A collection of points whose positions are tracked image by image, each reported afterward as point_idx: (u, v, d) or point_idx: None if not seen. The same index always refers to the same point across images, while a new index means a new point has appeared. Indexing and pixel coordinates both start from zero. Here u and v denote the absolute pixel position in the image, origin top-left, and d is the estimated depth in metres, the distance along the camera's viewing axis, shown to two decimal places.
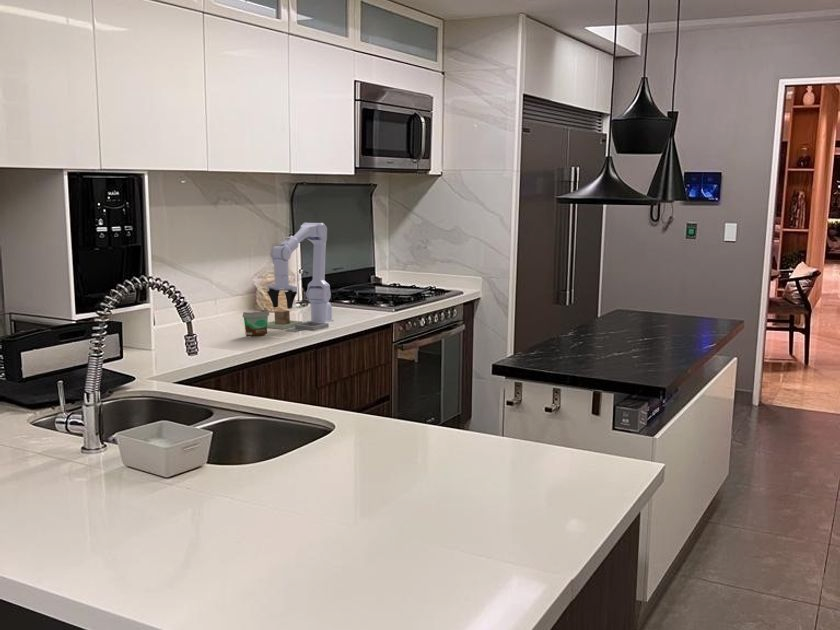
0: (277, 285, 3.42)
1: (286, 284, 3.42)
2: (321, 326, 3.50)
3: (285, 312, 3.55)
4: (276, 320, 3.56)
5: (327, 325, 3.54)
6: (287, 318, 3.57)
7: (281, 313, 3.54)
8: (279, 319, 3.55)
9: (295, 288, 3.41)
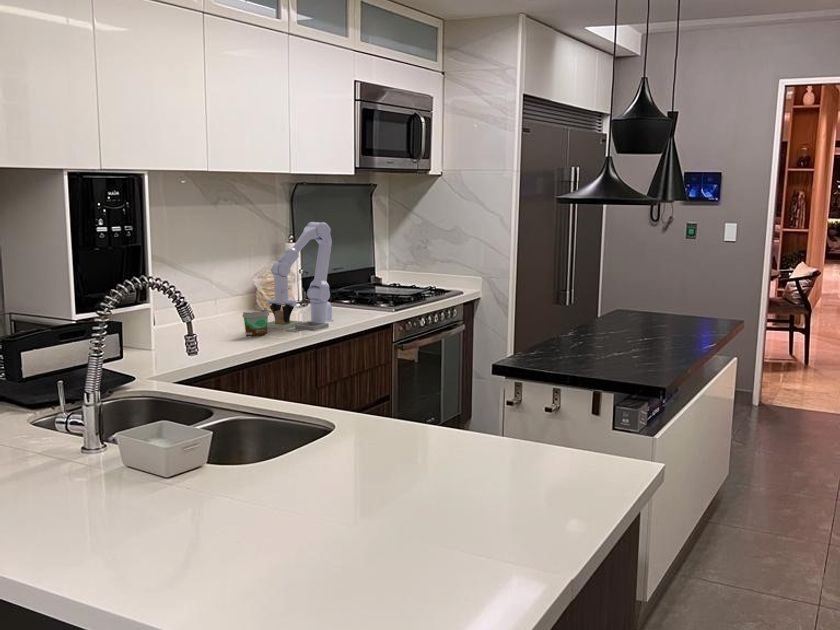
0: (277, 300, 3.53)
1: (286, 299, 3.54)
2: (321, 326, 3.50)
3: None
4: (276, 320, 3.56)
5: (327, 325, 3.54)
6: None
7: (281, 313, 3.54)
8: (279, 319, 3.55)
9: (294, 303, 3.52)
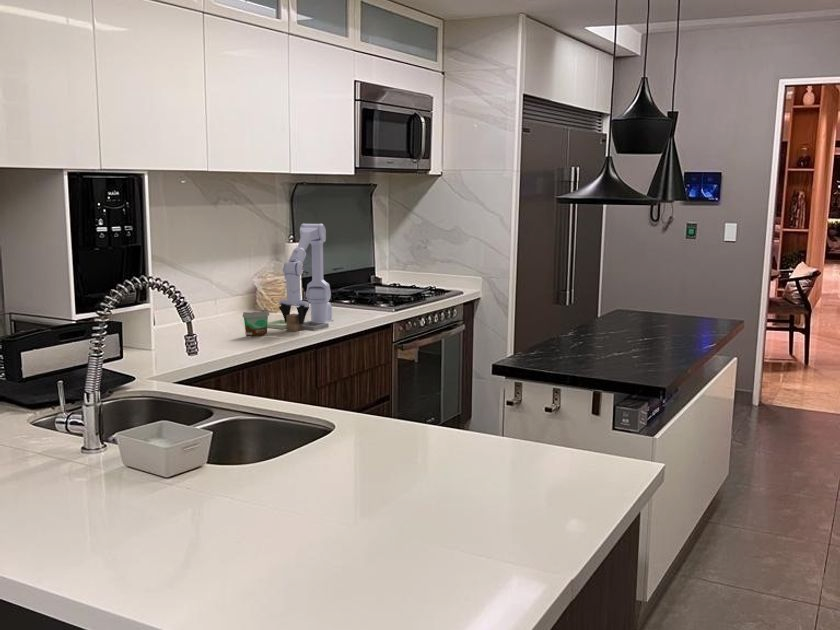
0: (289, 300, 3.41)
1: (298, 299, 3.42)
2: (321, 326, 3.50)
3: (297, 316, 3.43)
4: (288, 324, 3.44)
5: (327, 325, 3.54)
6: None
7: (293, 317, 3.42)
8: (291, 323, 3.43)
9: (307, 303, 3.40)
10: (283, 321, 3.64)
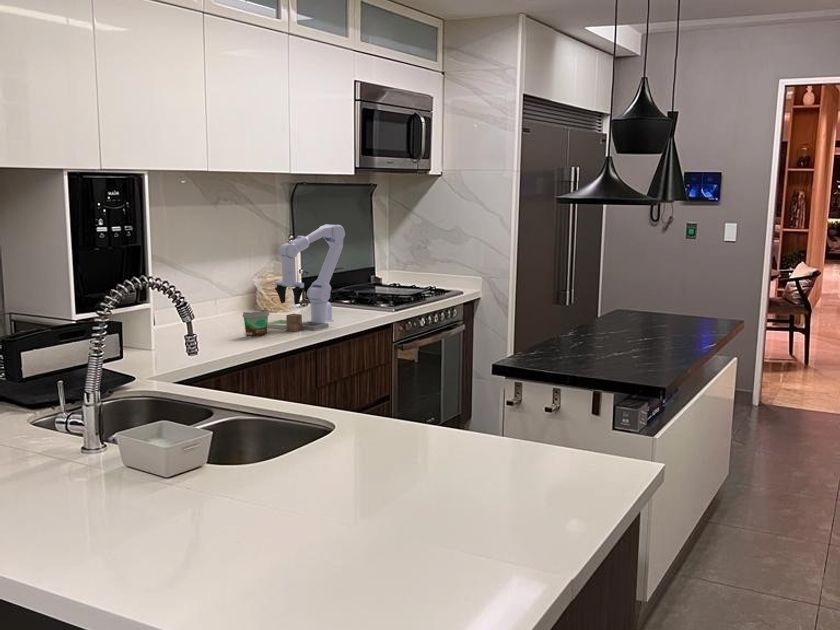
0: (285, 281, 3.54)
1: (293, 280, 3.54)
2: (321, 326, 3.50)
3: (297, 316, 3.43)
4: (288, 324, 3.44)
5: (327, 325, 3.54)
6: (299, 322, 3.45)
7: (293, 317, 3.42)
8: (291, 323, 3.43)
9: (302, 284, 3.53)
10: (283, 321, 3.64)
